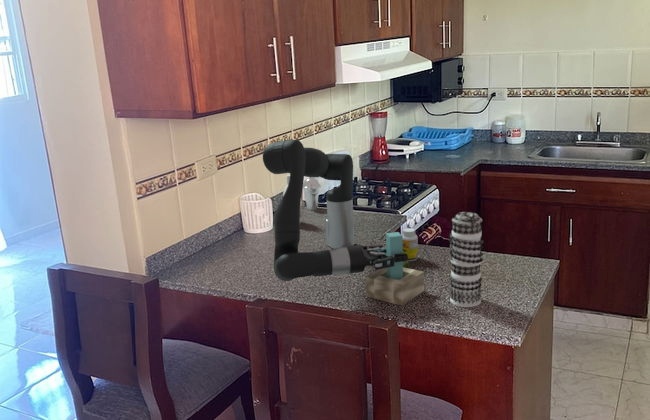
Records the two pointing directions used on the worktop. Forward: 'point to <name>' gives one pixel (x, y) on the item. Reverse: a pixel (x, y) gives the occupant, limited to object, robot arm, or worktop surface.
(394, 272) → the peg
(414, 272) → the socket block
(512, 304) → the worktop surface
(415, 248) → the supplement bottle
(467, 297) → the decorative candle
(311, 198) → the cup with straw
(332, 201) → the robot arm
